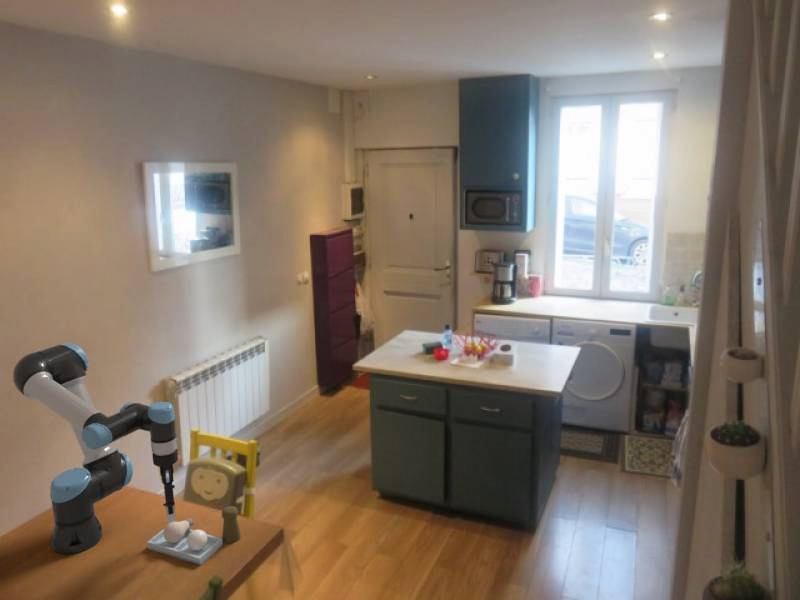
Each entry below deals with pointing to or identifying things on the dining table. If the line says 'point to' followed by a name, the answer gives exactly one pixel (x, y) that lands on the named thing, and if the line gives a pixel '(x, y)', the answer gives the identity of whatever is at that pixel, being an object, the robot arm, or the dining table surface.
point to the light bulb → (177, 530)
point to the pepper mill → (230, 525)
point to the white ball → (197, 540)
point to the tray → (185, 547)
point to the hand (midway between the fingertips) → (170, 514)
